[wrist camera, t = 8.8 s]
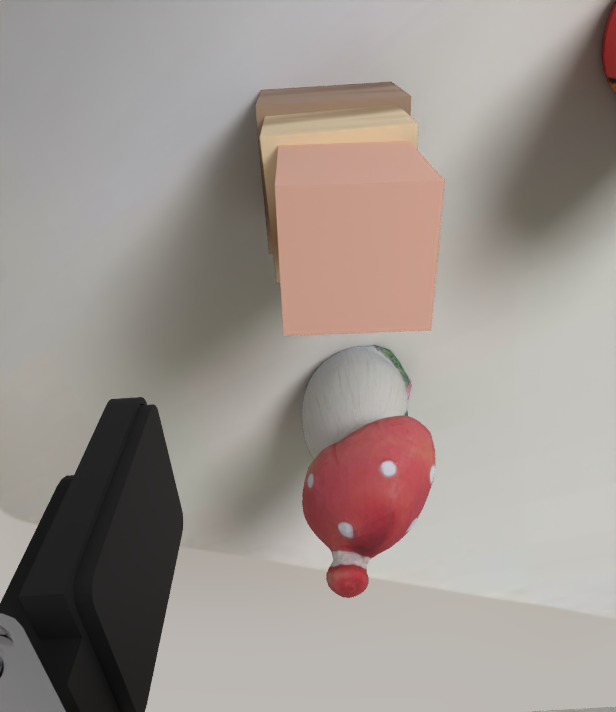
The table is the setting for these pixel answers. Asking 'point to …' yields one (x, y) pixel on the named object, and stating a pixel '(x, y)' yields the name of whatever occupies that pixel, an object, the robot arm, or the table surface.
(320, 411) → the decorative ornament
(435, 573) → the table surface
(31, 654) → the robot arm
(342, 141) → the oak block
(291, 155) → the terracotta block
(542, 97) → the table surface
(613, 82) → the canned food
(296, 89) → the walnut base
